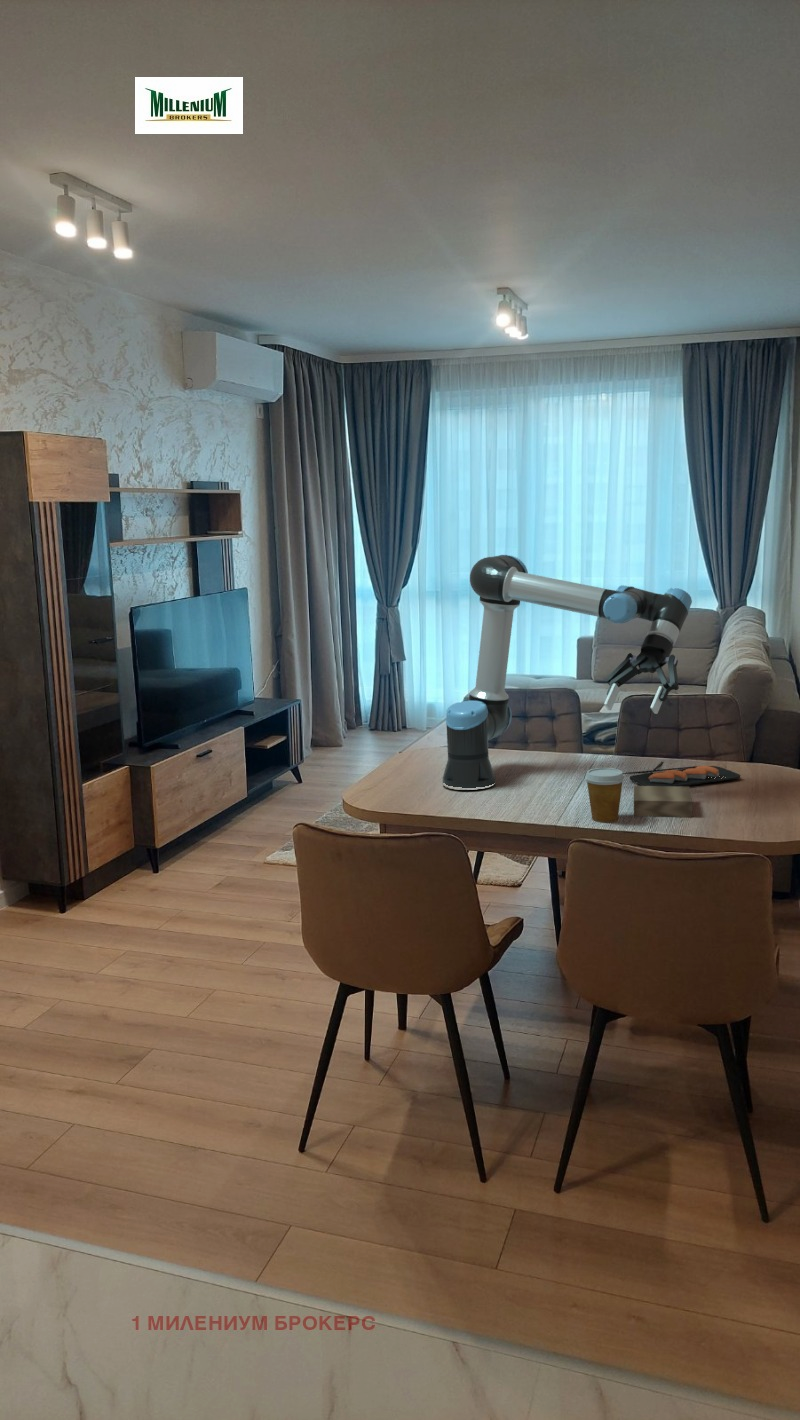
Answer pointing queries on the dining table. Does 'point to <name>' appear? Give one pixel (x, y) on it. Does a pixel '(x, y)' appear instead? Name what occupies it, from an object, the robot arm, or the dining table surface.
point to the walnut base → (662, 801)
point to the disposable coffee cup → (604, 793)
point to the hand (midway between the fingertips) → (630, 709)
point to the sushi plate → (682, 776)
